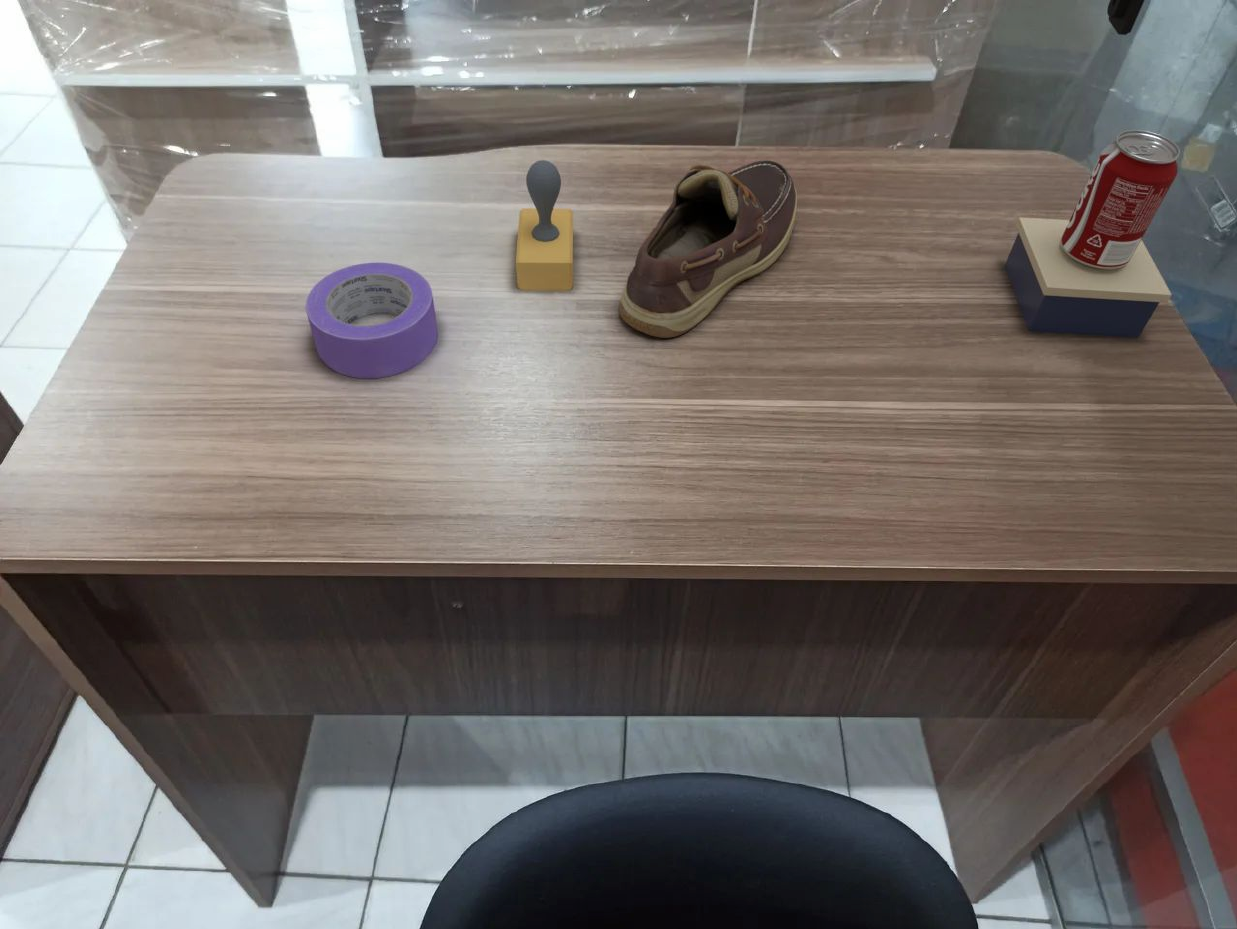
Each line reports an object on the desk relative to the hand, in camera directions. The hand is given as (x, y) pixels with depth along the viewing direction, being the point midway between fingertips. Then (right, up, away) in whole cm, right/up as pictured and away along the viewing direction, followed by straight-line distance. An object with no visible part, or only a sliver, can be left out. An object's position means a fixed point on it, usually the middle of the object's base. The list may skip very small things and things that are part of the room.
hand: (1183, 30), depth 68 cm
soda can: (+6, -11, +24) cm, 27 cm away
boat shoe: (-32, -10, +31) cm, 46 cm away
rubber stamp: (-50, -11, +30) cm, 60 cm away
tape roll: (-66, -20, +21) cm, 72 cm away
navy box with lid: (+5, -15, +28) cm, 32 cm away
